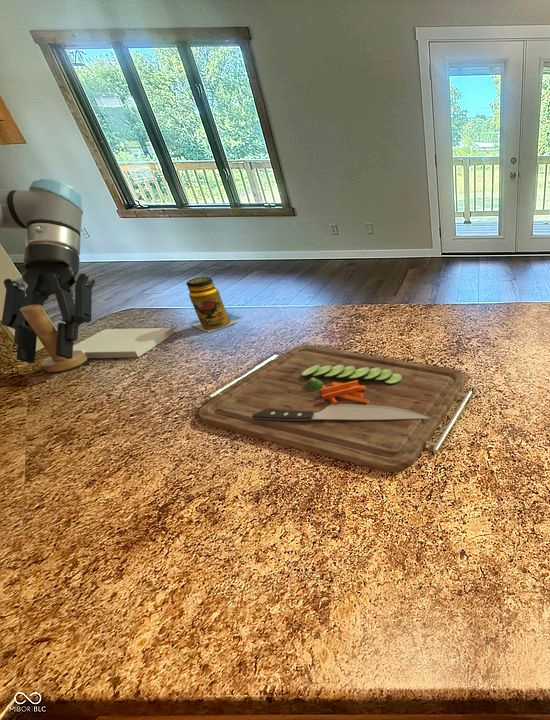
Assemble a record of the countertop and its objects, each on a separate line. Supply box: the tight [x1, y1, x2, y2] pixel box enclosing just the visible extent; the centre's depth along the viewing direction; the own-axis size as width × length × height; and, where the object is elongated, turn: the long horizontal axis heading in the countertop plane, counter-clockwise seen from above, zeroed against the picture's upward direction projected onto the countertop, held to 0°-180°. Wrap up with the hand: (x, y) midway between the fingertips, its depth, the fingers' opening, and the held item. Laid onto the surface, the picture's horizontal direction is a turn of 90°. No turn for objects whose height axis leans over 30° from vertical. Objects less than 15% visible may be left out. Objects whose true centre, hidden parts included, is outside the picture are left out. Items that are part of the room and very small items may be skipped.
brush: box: [20, 304, 91, 374], centre depth 75 cm, size 6×6×14 cm
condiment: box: [186, 276, 239, 333], centre depth 95 cm, size 7×8×12 cm
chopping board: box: [198, 344, 473, 473], centre depth 69 cm, size 45×27×3 cm, turn 72°
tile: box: [73, 327, 175, 359], centre depth 88 cm, size 16×12×2 cm
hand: (45, 358), depth 73 cm, fingers open, 5 cm apart
